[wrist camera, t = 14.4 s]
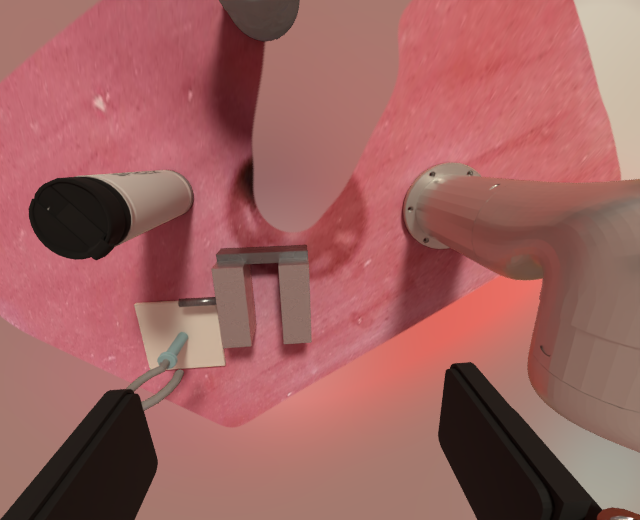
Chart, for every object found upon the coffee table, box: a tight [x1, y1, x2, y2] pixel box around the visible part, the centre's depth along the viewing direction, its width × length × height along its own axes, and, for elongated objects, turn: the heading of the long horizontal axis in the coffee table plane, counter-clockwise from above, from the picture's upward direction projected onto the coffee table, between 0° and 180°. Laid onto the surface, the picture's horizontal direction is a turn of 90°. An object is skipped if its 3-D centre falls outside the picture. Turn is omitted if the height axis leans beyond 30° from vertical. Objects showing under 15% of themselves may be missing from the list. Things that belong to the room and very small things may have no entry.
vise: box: [178, 245, 312, 348], centre depth 43 cm, size 19×13×6 cm
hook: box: [126, 332, 188, 411], centre depth 40 cm, size 8×2×15 cm, turn 108°
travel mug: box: [29, 170, 194, 260], centre depth 32 cm, size 6×7×20 cm
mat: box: [134, 301, 226, 370], centre depth 48 cm, size 12×12×1 cm
